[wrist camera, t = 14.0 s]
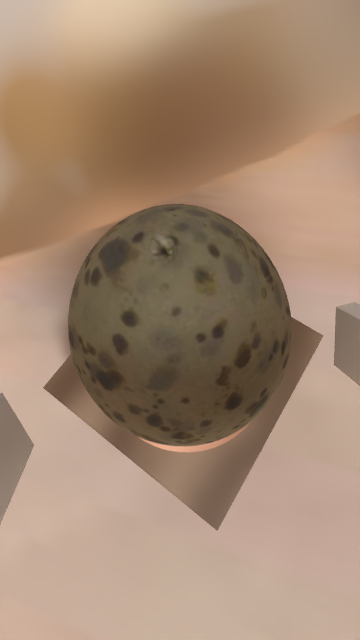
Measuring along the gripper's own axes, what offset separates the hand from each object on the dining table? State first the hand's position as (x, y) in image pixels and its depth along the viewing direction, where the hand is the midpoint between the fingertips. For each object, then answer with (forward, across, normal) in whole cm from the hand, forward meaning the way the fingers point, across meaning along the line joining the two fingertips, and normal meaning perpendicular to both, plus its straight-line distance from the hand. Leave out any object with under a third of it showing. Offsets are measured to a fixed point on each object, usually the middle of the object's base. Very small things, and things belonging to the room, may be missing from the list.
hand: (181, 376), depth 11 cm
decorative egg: (+9, +1, -5) cm, 11 cm away
